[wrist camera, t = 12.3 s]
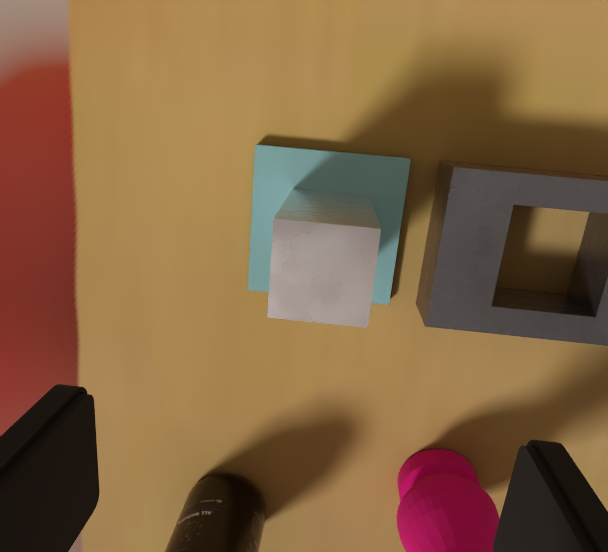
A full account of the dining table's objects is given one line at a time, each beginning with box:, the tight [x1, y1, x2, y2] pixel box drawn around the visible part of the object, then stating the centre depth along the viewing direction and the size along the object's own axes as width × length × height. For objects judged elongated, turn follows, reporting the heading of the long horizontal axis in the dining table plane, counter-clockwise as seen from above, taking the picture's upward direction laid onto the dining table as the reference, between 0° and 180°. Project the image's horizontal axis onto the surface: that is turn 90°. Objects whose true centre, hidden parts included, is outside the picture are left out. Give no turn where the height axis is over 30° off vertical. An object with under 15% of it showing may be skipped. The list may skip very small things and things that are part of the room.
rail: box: [416, 161, 608, 346], centre depth 31 cm, size 20×10×4 cm, turn 85°
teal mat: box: [248, 144, 411, 305], centre depth 33 cm, size 10×10×1 cm
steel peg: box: [267, 188, 381, 328], centre depth 28 cm, size 5×5×10 cm
